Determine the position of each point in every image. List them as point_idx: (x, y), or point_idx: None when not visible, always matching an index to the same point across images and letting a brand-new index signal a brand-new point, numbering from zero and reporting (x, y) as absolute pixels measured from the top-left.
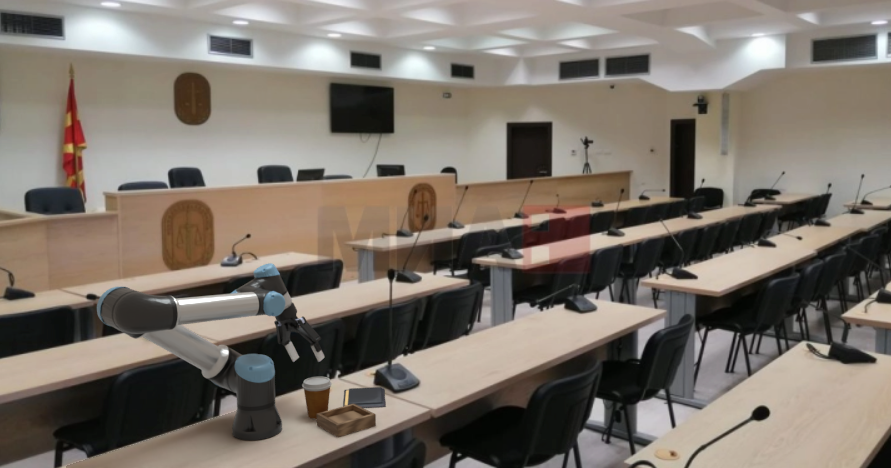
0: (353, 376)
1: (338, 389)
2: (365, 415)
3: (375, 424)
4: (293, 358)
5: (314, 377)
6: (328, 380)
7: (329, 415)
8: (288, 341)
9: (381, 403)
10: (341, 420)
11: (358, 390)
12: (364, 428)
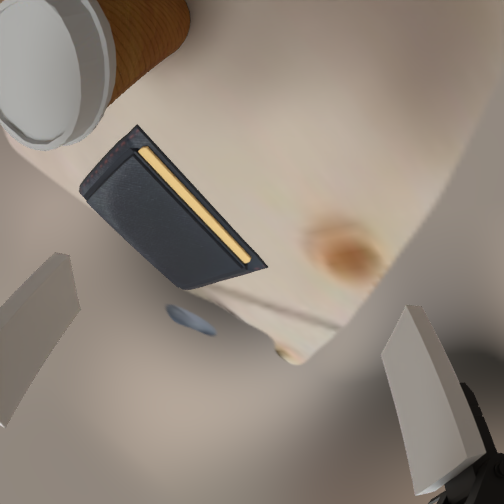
0: (315, 341)
1: (290, 267)
2: None
3: None
4: (410, 331)
5: (72, 112)
6: (14, 126)
7: None
8: (445, 498)
9: (85, 197)
10: None
11: (201, 258)
12: None
